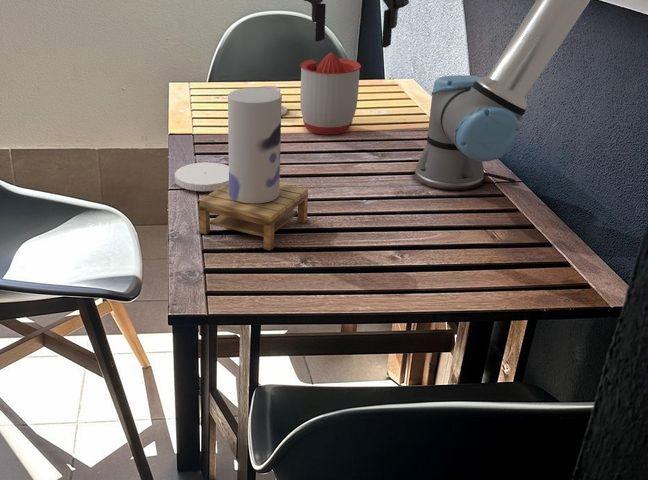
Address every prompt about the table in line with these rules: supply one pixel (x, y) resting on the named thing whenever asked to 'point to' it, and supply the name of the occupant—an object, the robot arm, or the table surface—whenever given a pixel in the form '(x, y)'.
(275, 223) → the rack
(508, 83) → the robot arm
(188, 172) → the plastic lid
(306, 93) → the citrus juicer
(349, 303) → the table surface
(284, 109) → the teacup
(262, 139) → the container
